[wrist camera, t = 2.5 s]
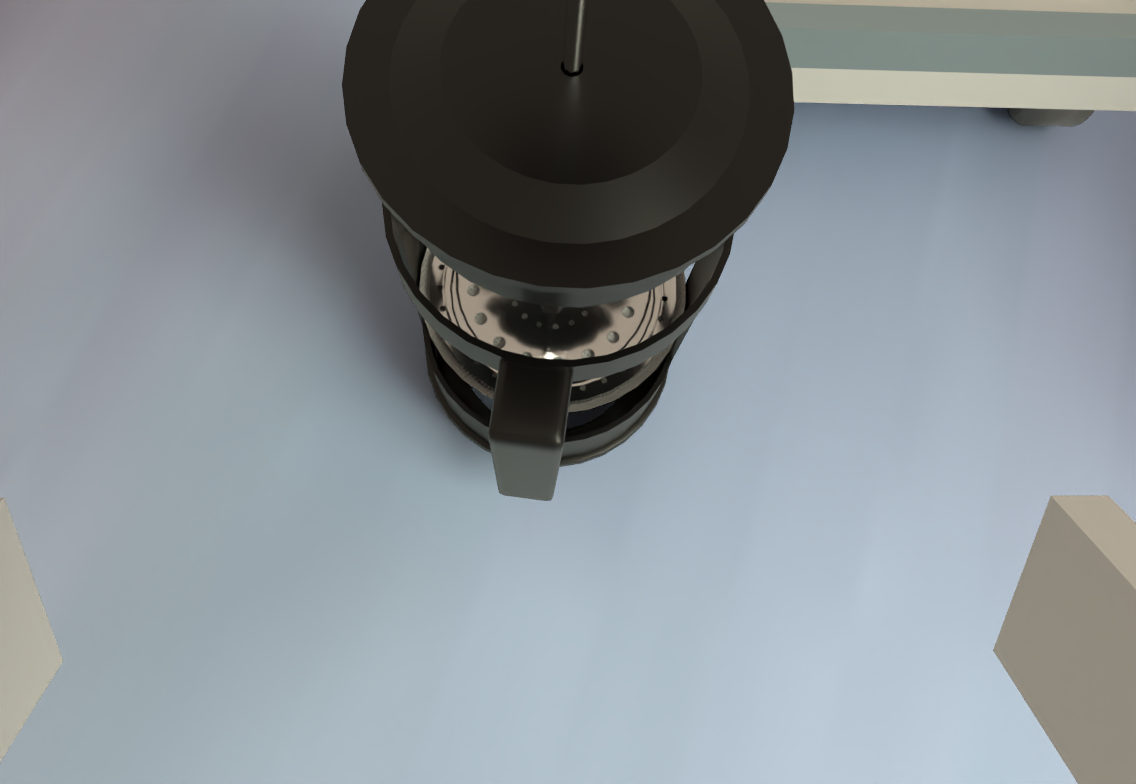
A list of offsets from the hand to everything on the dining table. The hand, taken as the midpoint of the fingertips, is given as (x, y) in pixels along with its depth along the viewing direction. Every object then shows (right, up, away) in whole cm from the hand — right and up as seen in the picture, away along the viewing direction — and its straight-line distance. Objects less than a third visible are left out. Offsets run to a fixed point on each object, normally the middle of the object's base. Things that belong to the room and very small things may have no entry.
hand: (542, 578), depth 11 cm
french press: (0, +4, +22) cm, 22 cm away
